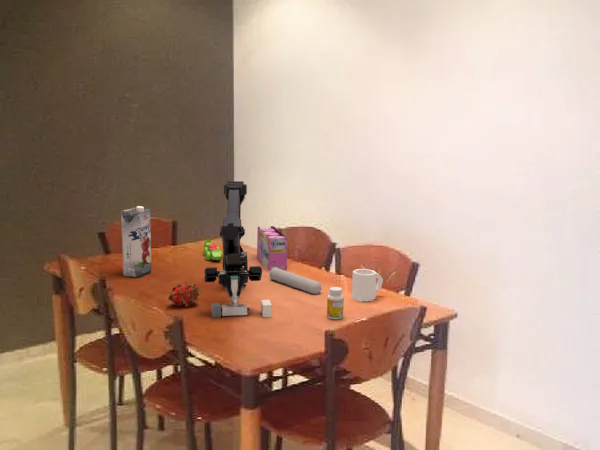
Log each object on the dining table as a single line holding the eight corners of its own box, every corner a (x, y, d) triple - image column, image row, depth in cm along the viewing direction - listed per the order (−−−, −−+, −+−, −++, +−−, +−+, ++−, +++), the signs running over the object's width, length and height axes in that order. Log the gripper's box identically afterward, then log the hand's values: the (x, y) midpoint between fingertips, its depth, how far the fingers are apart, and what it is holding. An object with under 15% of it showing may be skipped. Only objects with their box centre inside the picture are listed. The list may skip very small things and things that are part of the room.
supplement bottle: (325, 314, 248) (326, 286, 246) (341, 314, 248) (342, 286, 246) (327, 319, 243) (328, 291, 241) (344, 319, 243) (345, 290, 241)
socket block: (263, 317, 243) (263, 305, 243) (260, 311, 249) (260, 299, 248) (271, 317, 244) (271, 305, 243) (269, 311, 250) (269, 299, 249)
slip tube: (222, 315, 243) (222, 277, 240) (221, 313, 245) (221, 275, 243) (246, 314, 244) (247, 276, 241) (246, 312, 247) (246, 274, 244)
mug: (361, 303, 260) (362, 276, 258) (346, 296, 267) (347, 270, 265) (388, 298, 266) (389, 272, 264) (373, 292, 273) (374, 266, 271)
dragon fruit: (202, 306, 258) (171, 317, 251) (190, 288, 262) (160, 299, 255) (207, 292, 252) (175, 303, 245) (195, 273, 256) (163, 283, 249)
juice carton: (119, 276, 287) (117, 207, 282) (135, 269, 297) (133, 203, 291) (139, 279, 284) (137, 209, 278) (154, 272, 294) (153, 205, 288)
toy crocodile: (224, 263, 310) (224, 249, 309) (208, 264, 308) (208, 249, 307) (217, 252, 328) (217, 238, 327) (202, 252, 327) (202, 239, 325)
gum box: (255, 256, 321) (255, 226, 319) (273, 255, 324) (273, 225, 321) (268, 271, 299) (268, 238, 296) (287, 270, 301) (288, 237, 298)
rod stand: (212, 318, 242) (212, 306, 241) (211, 314, 245) (211, 303, 244) (250, 316, 244) (250, 305, 243) (248, 313, 247) (248, 302, 246)
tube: (325, 283, 271) (281, 268, 289) (315, 281, 267) (271, 265, 285) (322, 297, 271) (277, 281, 289) (311, 295, 267) (267, 279, 285)
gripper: (204, 243, 242) (206, 286, 234) (261, 242, 245) (265, 284, 237) (203, 260, 251) (205, 302, 243) (258, 259, 254) (262, 300, 246)
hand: (234, 296), depth 242 cm, fingers closed on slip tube, 2 cm apart
